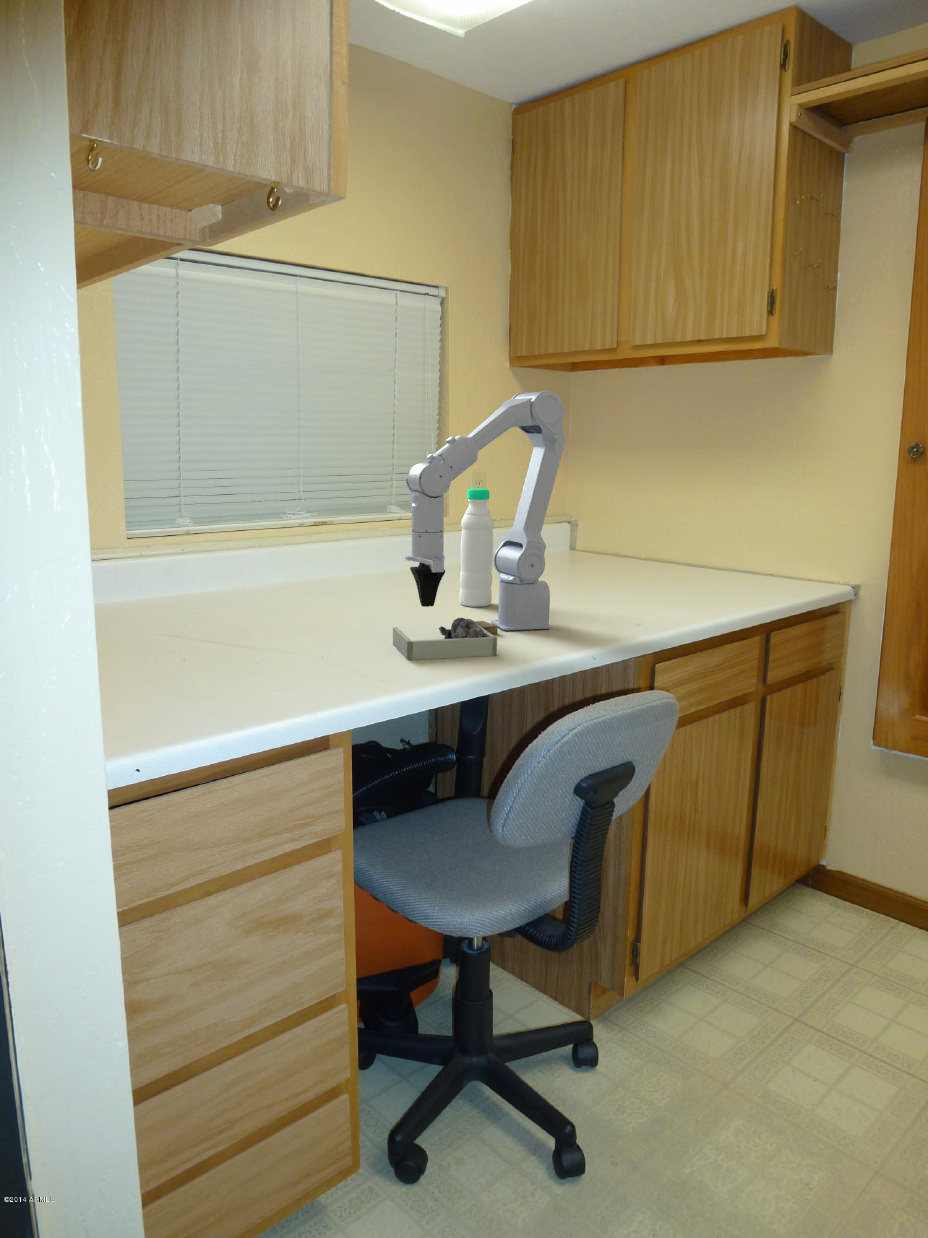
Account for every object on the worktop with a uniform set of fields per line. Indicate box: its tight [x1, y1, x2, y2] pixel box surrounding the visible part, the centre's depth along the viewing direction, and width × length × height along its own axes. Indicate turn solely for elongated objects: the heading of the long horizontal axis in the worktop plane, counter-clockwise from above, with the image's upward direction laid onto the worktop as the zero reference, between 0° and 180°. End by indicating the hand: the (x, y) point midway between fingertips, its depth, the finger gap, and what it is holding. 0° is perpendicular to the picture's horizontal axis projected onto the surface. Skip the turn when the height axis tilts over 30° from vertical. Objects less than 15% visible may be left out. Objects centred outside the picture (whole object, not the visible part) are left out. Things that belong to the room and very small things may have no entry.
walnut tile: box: [474, 620, 499, 636], centre depth 161 cm, size 5×5×2 cm
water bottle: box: [458, 487, 495, 608], centre depth 186 cm, size 7×7×25 cm
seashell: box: [438, 617, 486, 639], centre depth 149 cm, size 5×5×10 cm
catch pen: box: [392, 625, 498, 661], centre depth 147 cm, size 15×11×3 cm
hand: (427, 605), depth 157 cm, fingers closed
